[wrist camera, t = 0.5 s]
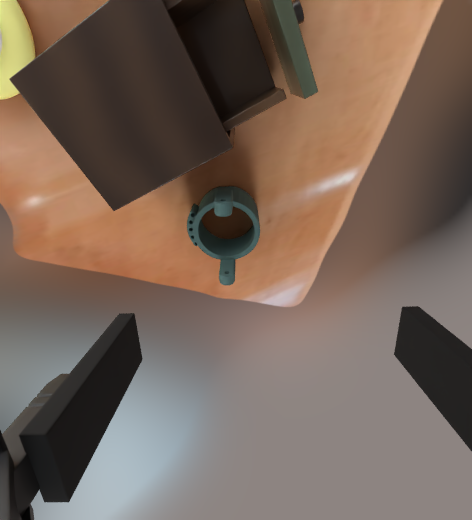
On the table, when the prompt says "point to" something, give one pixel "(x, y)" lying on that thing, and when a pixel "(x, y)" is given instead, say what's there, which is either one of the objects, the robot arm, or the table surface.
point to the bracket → (219, 247)
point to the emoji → (13, 45)
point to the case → (125, 100)
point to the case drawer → (243, 53)
